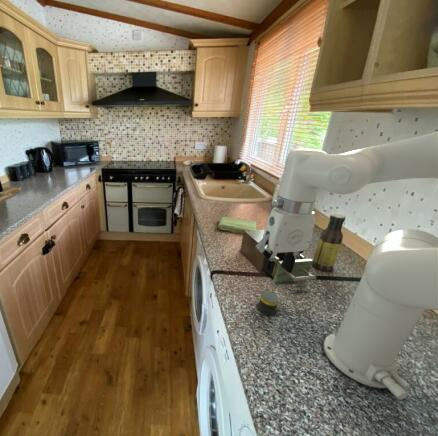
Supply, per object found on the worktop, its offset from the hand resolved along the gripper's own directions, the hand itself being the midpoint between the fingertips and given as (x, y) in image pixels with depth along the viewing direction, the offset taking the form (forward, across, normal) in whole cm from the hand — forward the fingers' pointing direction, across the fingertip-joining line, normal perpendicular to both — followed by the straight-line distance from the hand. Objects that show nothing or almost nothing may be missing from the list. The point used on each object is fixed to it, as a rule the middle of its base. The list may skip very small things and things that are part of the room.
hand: (277, 269), depth 63 cm
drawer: (+12, +15, +14) cm, 24 cm away
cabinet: (+13, +15, +24) cm, 31 cm away
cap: (+13, 0, 0) cm, 13 cm away
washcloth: (+14, +18, +52) cm, 57 cm away
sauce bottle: (+14, +33, +17) cm, 40 cm away
